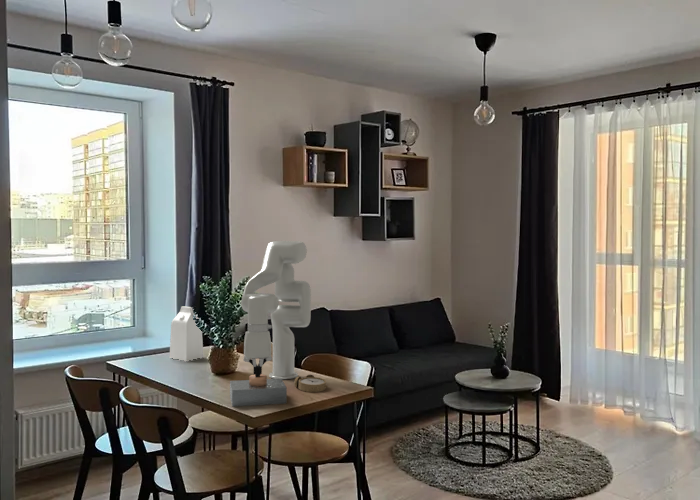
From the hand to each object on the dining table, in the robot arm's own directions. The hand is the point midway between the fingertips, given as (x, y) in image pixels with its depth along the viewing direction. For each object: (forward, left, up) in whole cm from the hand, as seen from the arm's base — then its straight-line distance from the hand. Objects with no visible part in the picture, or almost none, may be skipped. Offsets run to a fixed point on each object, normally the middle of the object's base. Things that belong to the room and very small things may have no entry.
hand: (257, 376), depth 246 cm
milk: (-88, -27, -9) cm, 93 cm away
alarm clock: (-15, +23, -10) cm, 29 cm away
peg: (0, 0, -9) cm, 9 cm away
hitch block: (0, 0, -9) cm, 9 cm away
